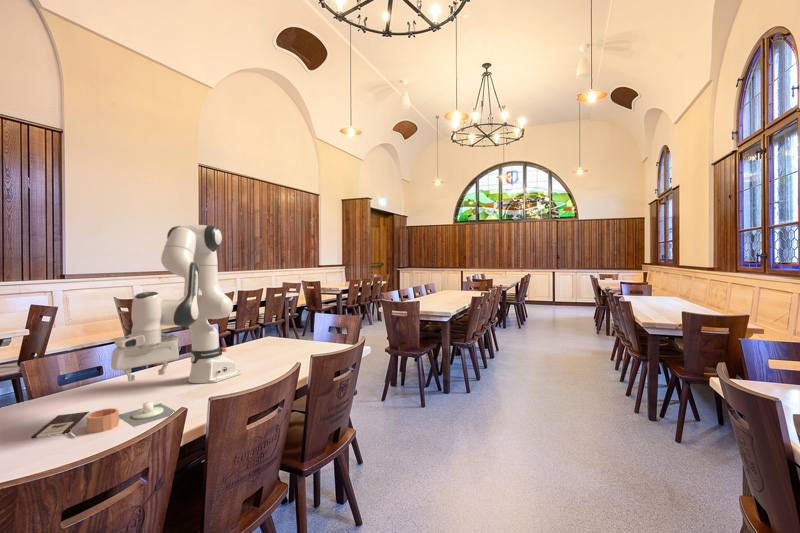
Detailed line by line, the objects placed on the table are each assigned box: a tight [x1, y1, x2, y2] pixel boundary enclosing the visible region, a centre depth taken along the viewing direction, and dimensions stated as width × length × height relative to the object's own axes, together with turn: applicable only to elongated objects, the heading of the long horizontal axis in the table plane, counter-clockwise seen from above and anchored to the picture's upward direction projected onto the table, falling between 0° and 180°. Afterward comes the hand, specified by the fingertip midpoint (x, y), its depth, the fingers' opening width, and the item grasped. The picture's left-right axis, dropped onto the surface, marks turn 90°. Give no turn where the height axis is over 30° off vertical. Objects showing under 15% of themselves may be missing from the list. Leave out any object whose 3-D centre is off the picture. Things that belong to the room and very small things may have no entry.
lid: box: [132, 401, 164, 419], centre depth 134 cm, size 9×9×4 cm
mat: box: [119, 403, 176, 428], centre depth 134 cm, size 14×16×1 cm
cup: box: [86, 407, 120, 434], centre depth 123 cm, size 8×8×5 cm
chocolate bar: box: [30, 411, 90, 439], centre depth 127 cm, size 9×1×18 cm
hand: (146, 377), depth 133 cm, fingers open, 8 cm apart
